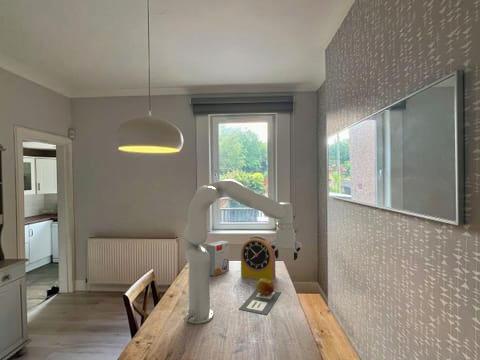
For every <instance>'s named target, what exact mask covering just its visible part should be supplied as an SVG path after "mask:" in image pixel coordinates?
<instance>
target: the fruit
mask: <svg viewBox="0 0 480 360" xmlns="http://www.w3.org/2000/svg"><path fill="white" fill-rule="evenodd" d="M256 289H257V290H258V292H259V293H261V294H263V295H270V294H272V293H273V291H275V285H274V282H273V280H272V281H271V280H269V279H267V278H262V279H258V281H257V283H256Z"/></svg>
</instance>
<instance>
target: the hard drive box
mask: <svg viewBox="0 0 480 360" xmlns="http://www.w3.org/2000/svg"><path fill="white" fill-rule="evenodd" d="M206 250H207V251H208V253H209V255H210V260H211V261H210V273H209V276H213V277H216V276H219V275H221V274H223V273H226V272H229V271H230V241H226V240H219V241H214V242H211V243H208V244H206Z"/></svg>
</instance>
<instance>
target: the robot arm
mask: <svg viewBox="0 0 480 360" xmlns="http://www.w3.org/2000/svg"><path fill="white" fill-rule="evenodd" d="M224 197H227V198H229V199H231V200H233V201H235V202H237V203H239V204H241V205H243V206H245V207H247V208H250V209H254V210H257V211H260V212H262V214H263V215H264V216H265V217H267V218H271V219H274V220H277V223H275V227H277V228H276V231H275V239H272V240H271V241H270V245H271V247H272V248H273V249H274V251H275V260H276V259H278V258H279V257H280V256H279V249H285V250H293V261H297V259H298V253H299V251H300V250H301V249H302V247H303V243H302V242H300V241H298V240H296V232H295V229H294V228H293V227H294V226H293V223H294V222H293V219H294V218H293V204H292V203H291V202H278V201H276V200H274V199H272V198H270V197H267V196H266V195H263V194H261V193H259V192H256V190H252V189H251V188H249V187H248V186H246V185H243V184H242V183H240V182H239V181H236V180H234V179H222V180H218V181H214V182H213V183H209V184H205V185H202V186H199V187H198V188H196V191H195V195H194V196H193V198H192V199H191V200H190V202H189V206H188V210H187V211H188V212H187V213H188V214H187V217H188V218H187V219H188V220H187V224H186V225H185V227H184V231H183V244H184V246H183V249H184V257H185V260H186V261H187V263H188V277H187V279H188V281H187V282H188V284H187V285H188V310H187V312H186V314H185V317H183V319H182V320H183V322H184V323H187V322H188V323H190V324H193V325H195V324H196V325H197V324H198V325H200V324H201V325H202V324H205V323H207V322H209V321H211V320H212V319H213V317H214V311H213V310H212V309H211V301H210V300H211V297H210V296H211V295H210V291H211V289H210V284H211V283H210V275H209V273H210V261H211V260H210V255H209V253H208V251H207V248H205V247H204V243H205V242H207V239H208V236H209V235H208V234H209V232H208V211H209V208H210V207H211V205H213V204H214V203H215V202H217V199H218V200H219V199H221V198H224ZM274 243H275V244H274ZM296 245H297V246H298V247H297V246H296Z"/></svg>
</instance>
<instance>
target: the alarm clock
mask: <svg viewBox="0 0 480 360" xmlns="http://www.w3.org/2000/svg"><path fill="white" fill-rule="evenodd" d="M270 242H271V241H270V240H269V239H268V238H266V237H265V236H263V235H253V236H250V238H249V239H248V240H247V241H246V242H244V243H243V245H242V247H241V250H240V277H242V278H249V279H257V280H260V279H262V278H267V279H269V280H271V281H272V282H273V280H274V279H275V278H276V277H277V276H276V256H275V251H274V249H273V248H272V247H271V245H270Z"/></svg>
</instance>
